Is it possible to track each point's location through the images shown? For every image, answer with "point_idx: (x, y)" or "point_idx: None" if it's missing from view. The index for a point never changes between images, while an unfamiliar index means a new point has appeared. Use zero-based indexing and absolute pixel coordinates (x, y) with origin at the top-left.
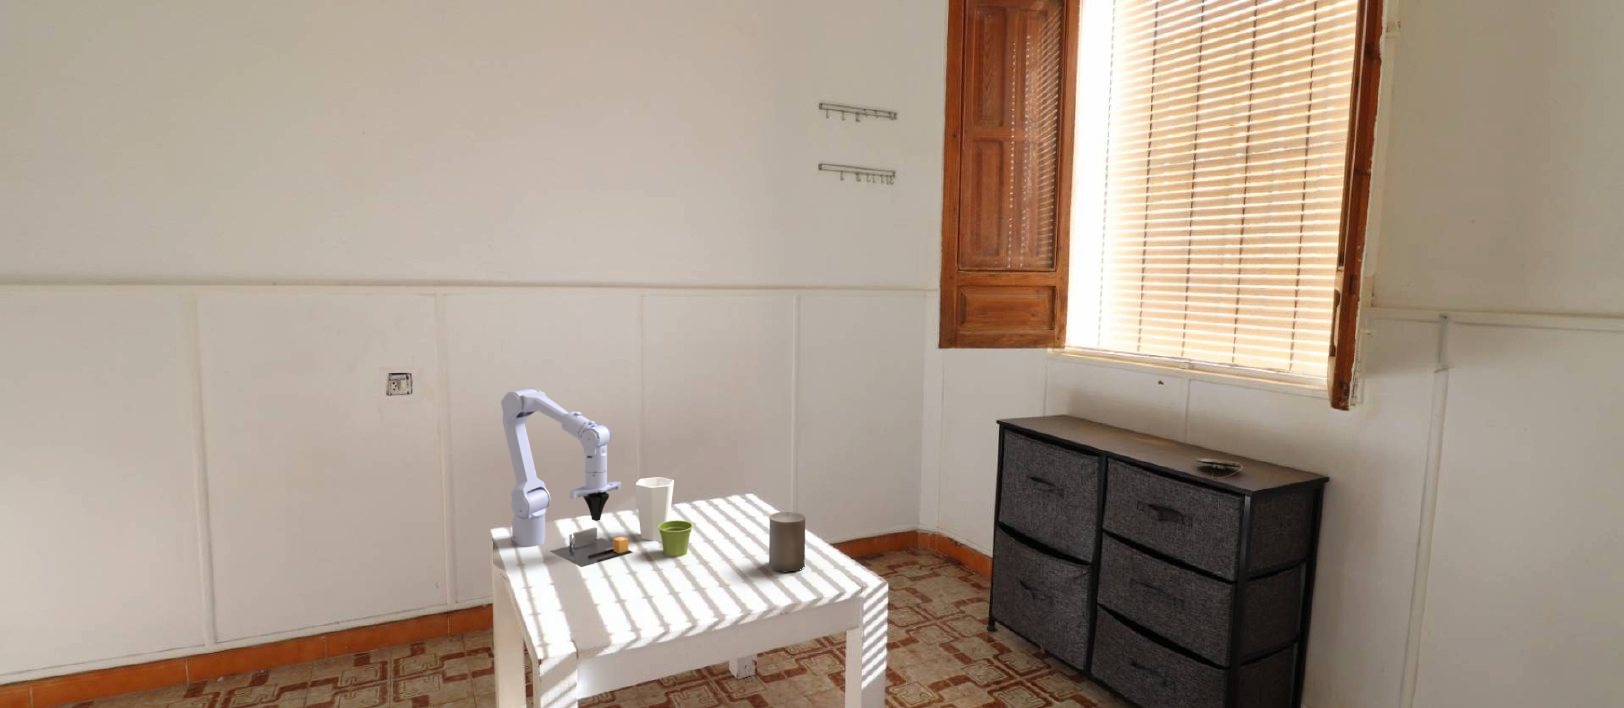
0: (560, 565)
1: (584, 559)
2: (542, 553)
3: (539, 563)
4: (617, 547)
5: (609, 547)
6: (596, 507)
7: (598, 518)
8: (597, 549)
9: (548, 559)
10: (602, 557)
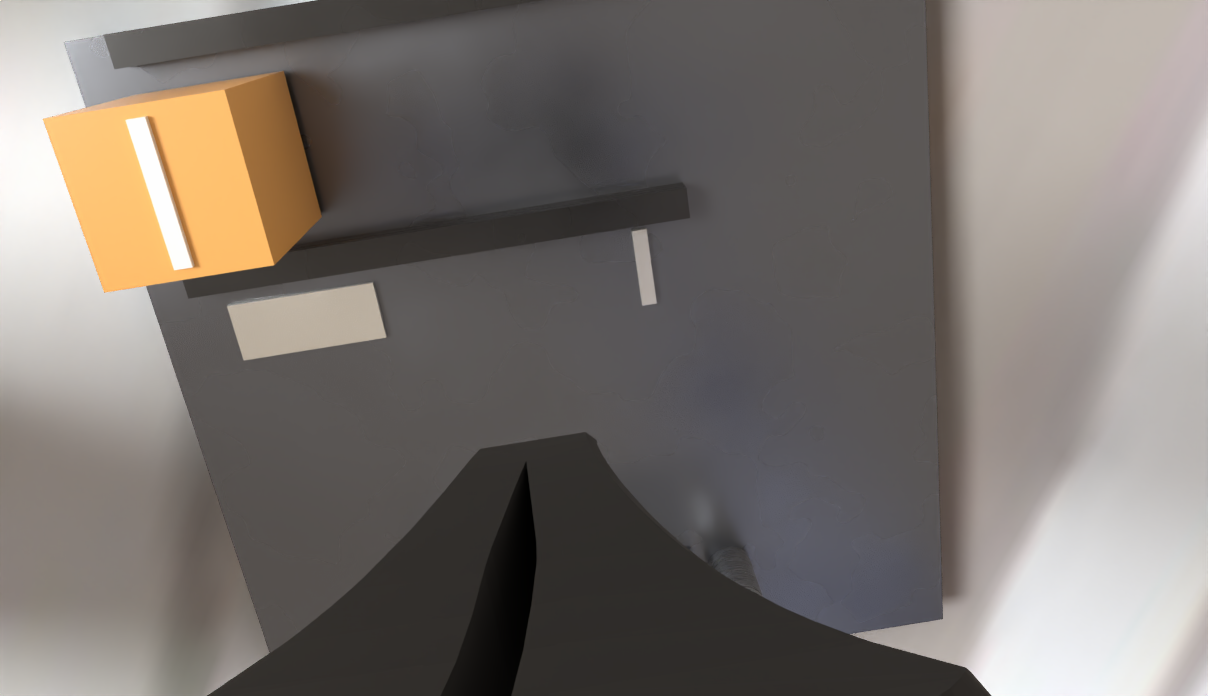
0: (1004, 240)
1: (761, 157)
2: (964, 661)
3: (1137, 421)
4: (275, 130)
5: (314, 393)
6: (641, 574)
7: (528, 448)
8: (474, 405)
9: (1006, 481)
10: (534, 92)
